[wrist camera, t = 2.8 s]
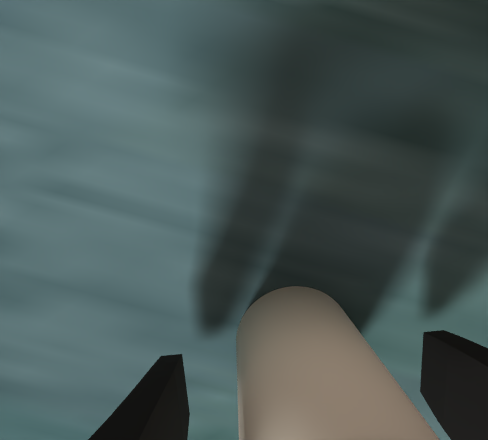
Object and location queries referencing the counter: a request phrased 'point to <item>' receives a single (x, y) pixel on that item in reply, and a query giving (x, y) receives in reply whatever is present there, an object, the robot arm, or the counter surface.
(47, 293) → the counter surface
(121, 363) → the counter surface
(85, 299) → the counter surface
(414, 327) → the counter surface
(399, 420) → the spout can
